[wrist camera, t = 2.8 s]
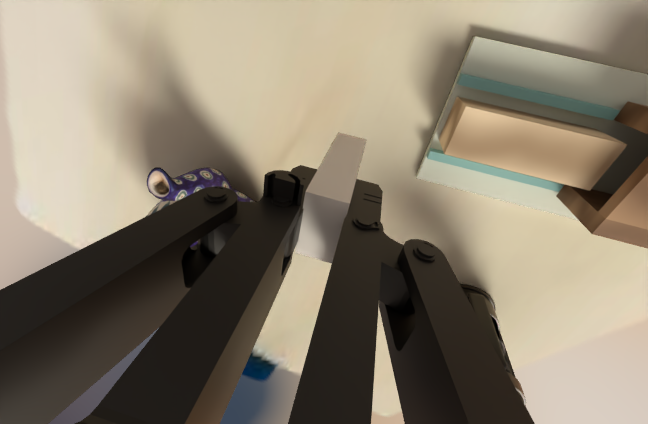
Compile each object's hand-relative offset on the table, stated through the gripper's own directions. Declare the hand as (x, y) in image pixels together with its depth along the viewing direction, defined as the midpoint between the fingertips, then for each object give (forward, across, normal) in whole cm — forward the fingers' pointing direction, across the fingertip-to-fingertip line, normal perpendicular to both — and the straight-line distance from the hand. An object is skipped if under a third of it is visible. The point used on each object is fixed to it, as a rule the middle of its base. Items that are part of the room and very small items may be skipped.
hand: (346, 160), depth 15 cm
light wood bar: (+14, +14, 0) cm, 20 cm away
